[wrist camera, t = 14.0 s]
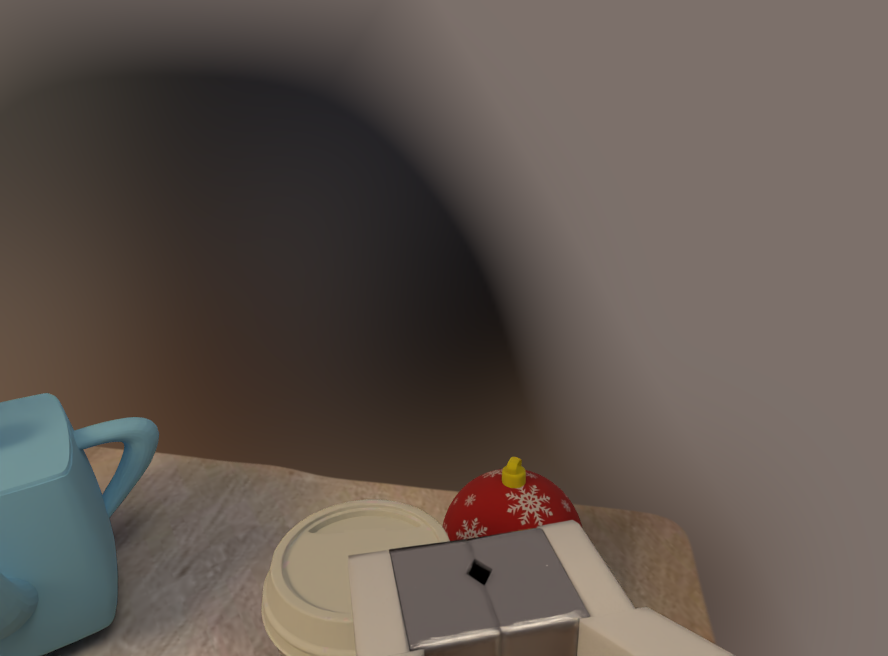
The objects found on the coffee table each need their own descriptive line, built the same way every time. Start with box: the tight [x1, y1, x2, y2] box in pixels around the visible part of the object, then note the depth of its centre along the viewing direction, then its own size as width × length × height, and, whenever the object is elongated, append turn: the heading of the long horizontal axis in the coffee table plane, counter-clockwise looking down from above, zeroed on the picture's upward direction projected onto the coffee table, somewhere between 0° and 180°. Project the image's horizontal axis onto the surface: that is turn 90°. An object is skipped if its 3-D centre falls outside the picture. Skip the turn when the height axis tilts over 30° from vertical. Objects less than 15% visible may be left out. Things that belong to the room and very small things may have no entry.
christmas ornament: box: [443, 457, 582, 541], centre depth 39 cm, size 9×9×10 cm
